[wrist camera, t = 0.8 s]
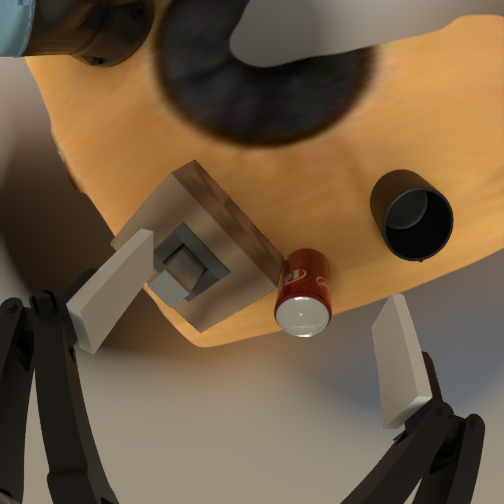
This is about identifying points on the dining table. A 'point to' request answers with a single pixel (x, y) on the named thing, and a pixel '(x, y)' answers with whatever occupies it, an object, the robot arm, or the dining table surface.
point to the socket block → (206, 245)
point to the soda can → (304, 294)
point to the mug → (411, 215)
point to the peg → (177, 276)
